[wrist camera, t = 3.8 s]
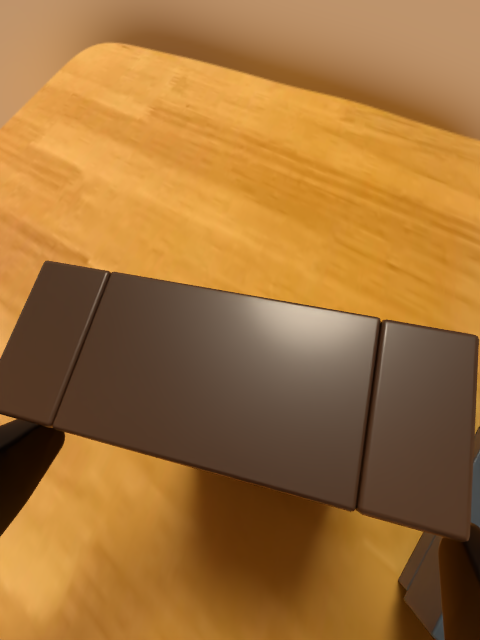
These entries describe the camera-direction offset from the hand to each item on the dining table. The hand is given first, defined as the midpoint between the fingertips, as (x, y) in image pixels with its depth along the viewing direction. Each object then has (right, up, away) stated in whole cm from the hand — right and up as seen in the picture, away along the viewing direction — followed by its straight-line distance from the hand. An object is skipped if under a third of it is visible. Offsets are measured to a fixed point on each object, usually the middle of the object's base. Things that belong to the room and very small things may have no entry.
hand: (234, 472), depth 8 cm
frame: (+1, -2, +9) cm, 9 cm away
